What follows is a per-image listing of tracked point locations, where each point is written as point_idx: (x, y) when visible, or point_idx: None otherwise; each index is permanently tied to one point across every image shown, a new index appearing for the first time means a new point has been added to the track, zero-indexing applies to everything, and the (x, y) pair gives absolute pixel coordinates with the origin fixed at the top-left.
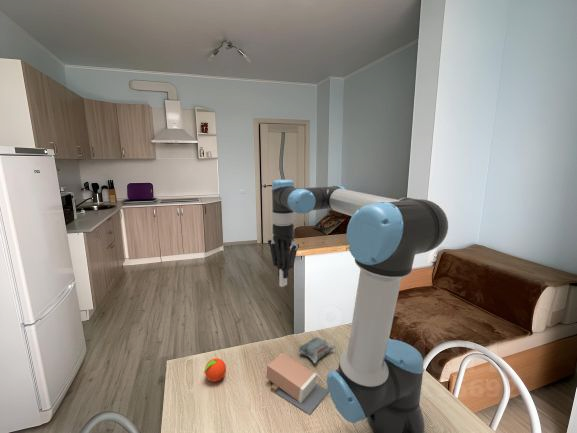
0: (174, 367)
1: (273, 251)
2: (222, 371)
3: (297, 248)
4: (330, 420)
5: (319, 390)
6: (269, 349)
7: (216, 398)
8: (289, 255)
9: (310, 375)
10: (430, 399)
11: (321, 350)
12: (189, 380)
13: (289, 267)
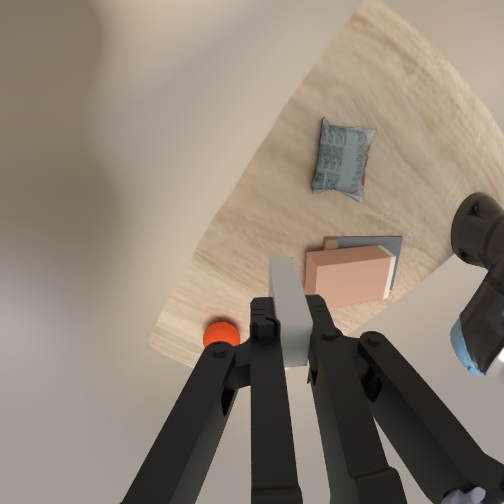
0: (152, 346)
1: (201, 486)
2: (239, 342)
3: (495, 471)
4: (415, 276)
5: (389, 246)
6: (237, 214)
7: None
8: (407, 462)
9: (387, 267)
10: (499, 163)
11: (364, 169)
12: (195, 349)
13: (377, 382)
